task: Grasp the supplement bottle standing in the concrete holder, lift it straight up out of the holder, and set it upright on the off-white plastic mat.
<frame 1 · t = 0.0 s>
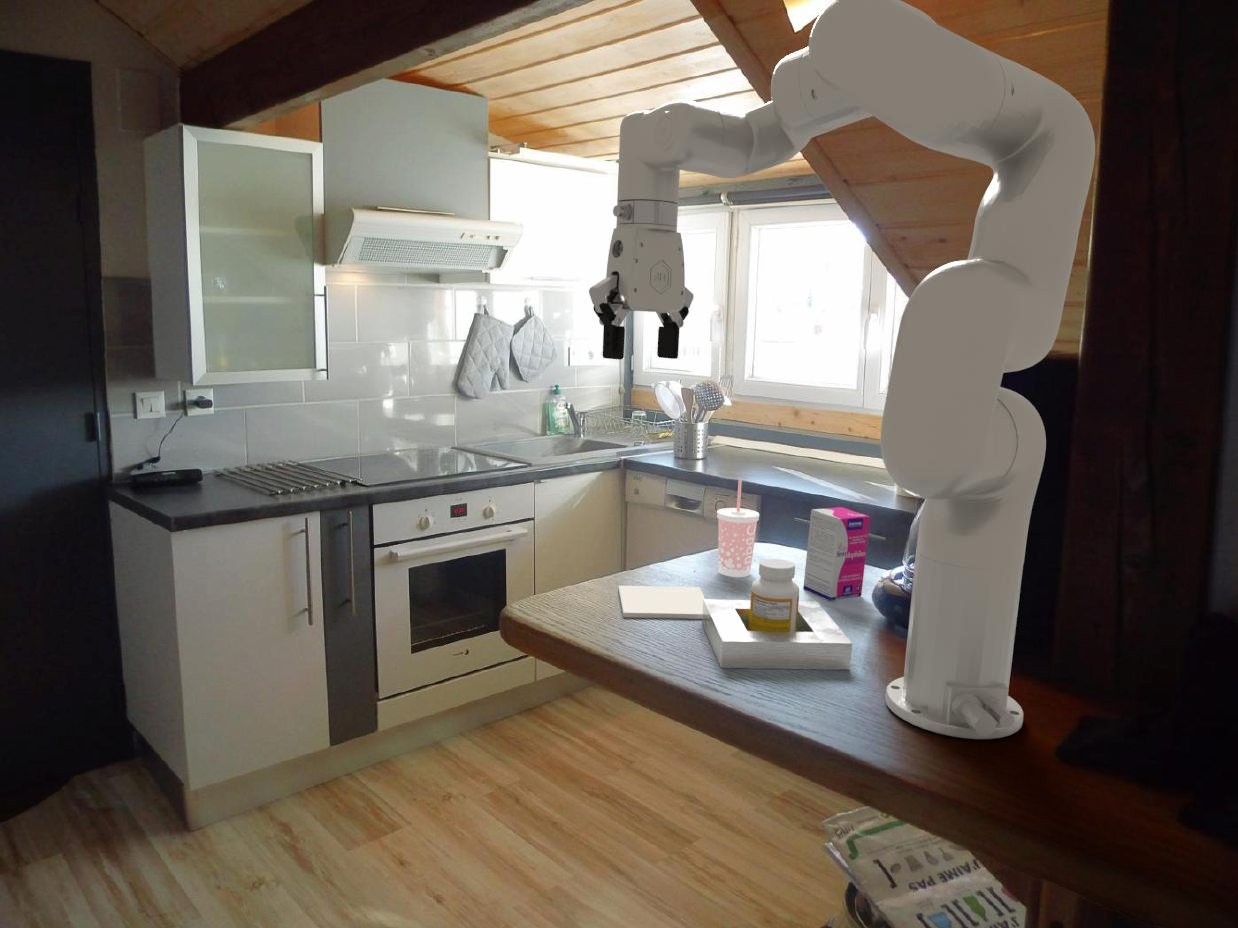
hand: (640, 358, 115), 31 cm above the countertop, tool pointing down, fingers open, 9 cm apart
concrete holder: (771, 644, 105), on the countertop
beverage cup: (734, 573, 133), on the countertop
plastic mat: (663, 603, 118), on the countertop
supplement box: (832, 594, 125), on the countertop
supplement bottle: (771, 646, 105), resting in concrete holder
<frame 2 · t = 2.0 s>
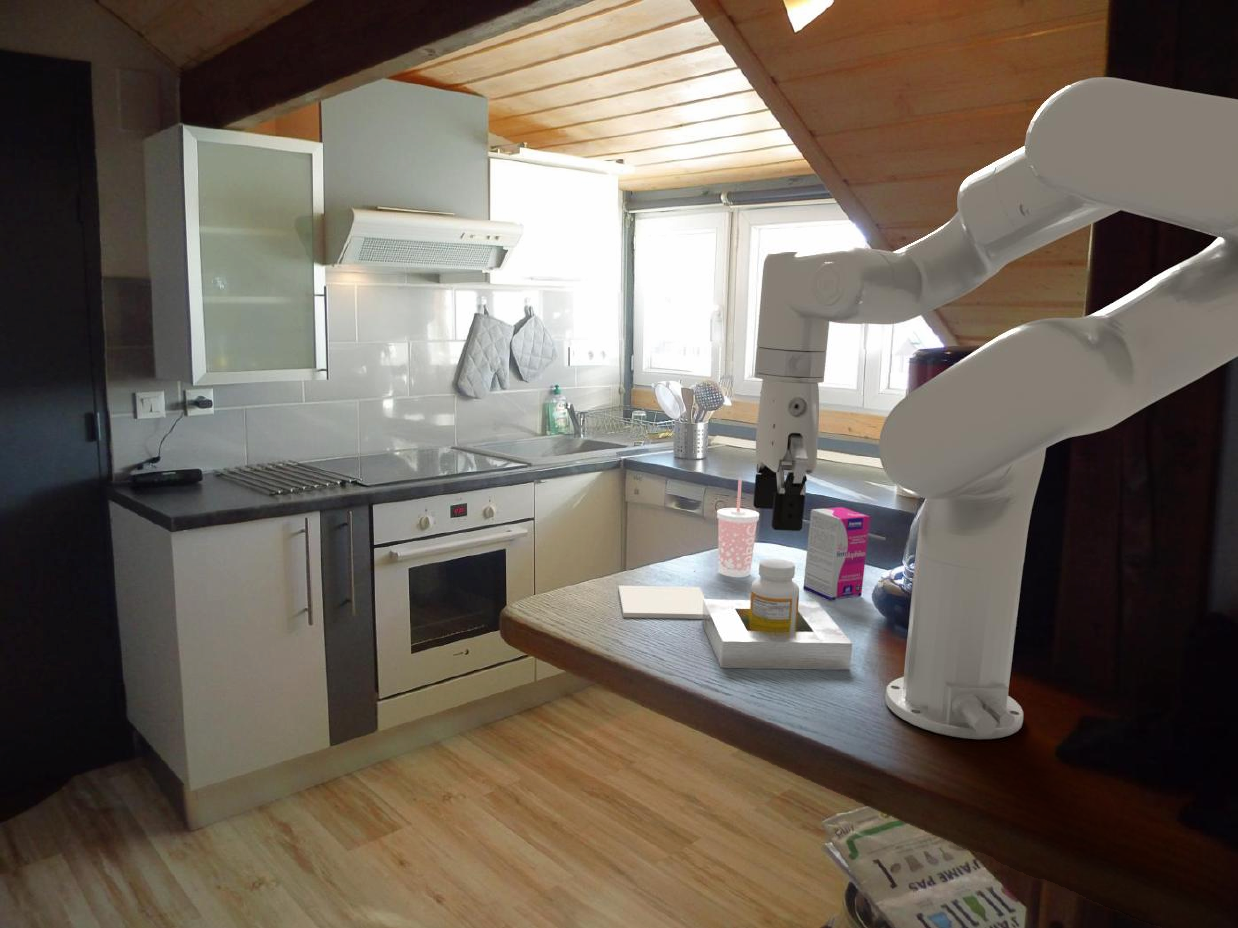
hand: (776, 518, 103), 15 cm above the countertop, tool pointing down, fingers open, 9 cm apart
nothing on the countertop moved.
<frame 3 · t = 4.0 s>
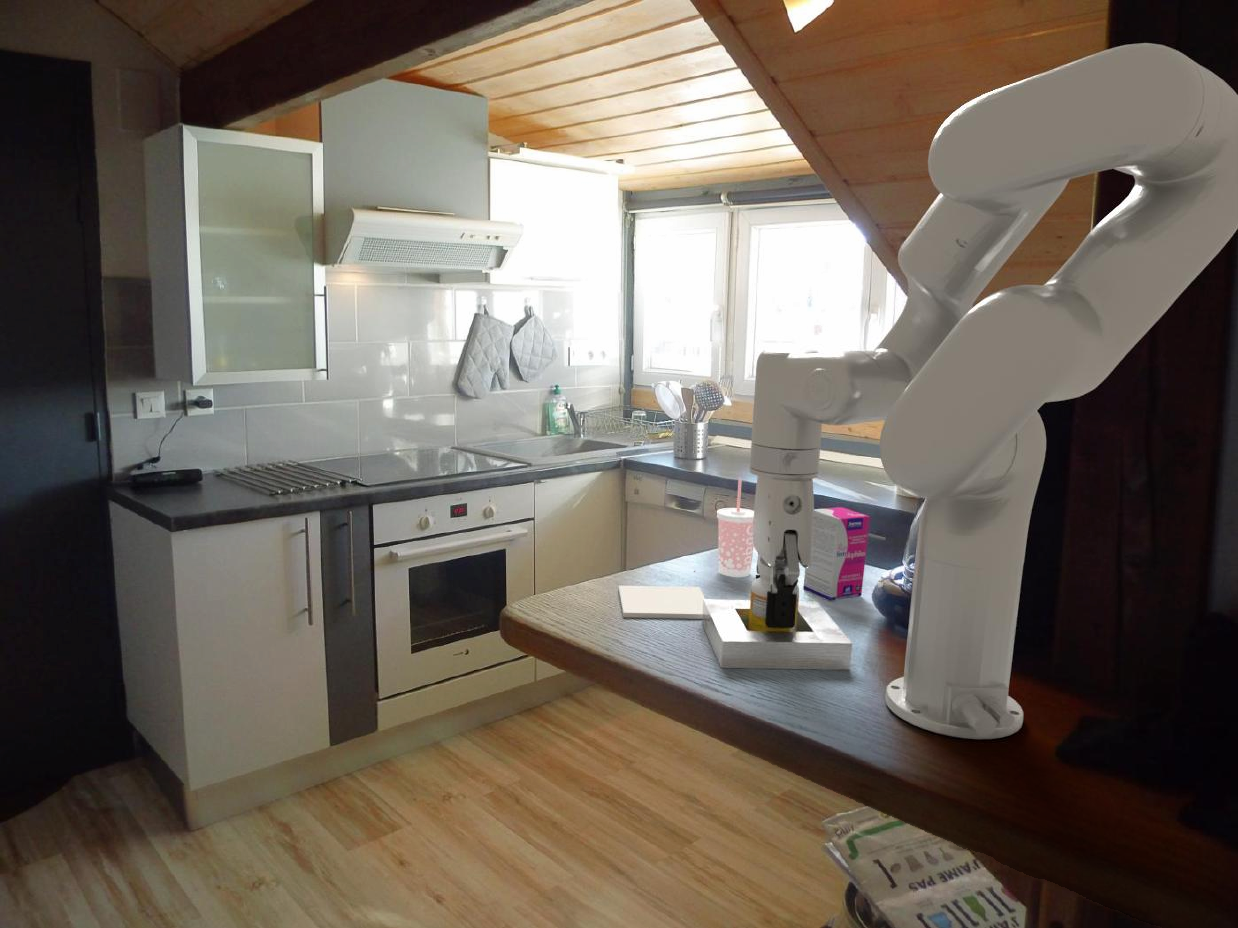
hand: (773, 615, 104), 3 cm above the countertop, tool pointing down, fingers closed on supplement bottle, 5 cm apart
supplement bottle: (771, 646, 105), resting in concrete holder, touching gripper
everything else where it was.
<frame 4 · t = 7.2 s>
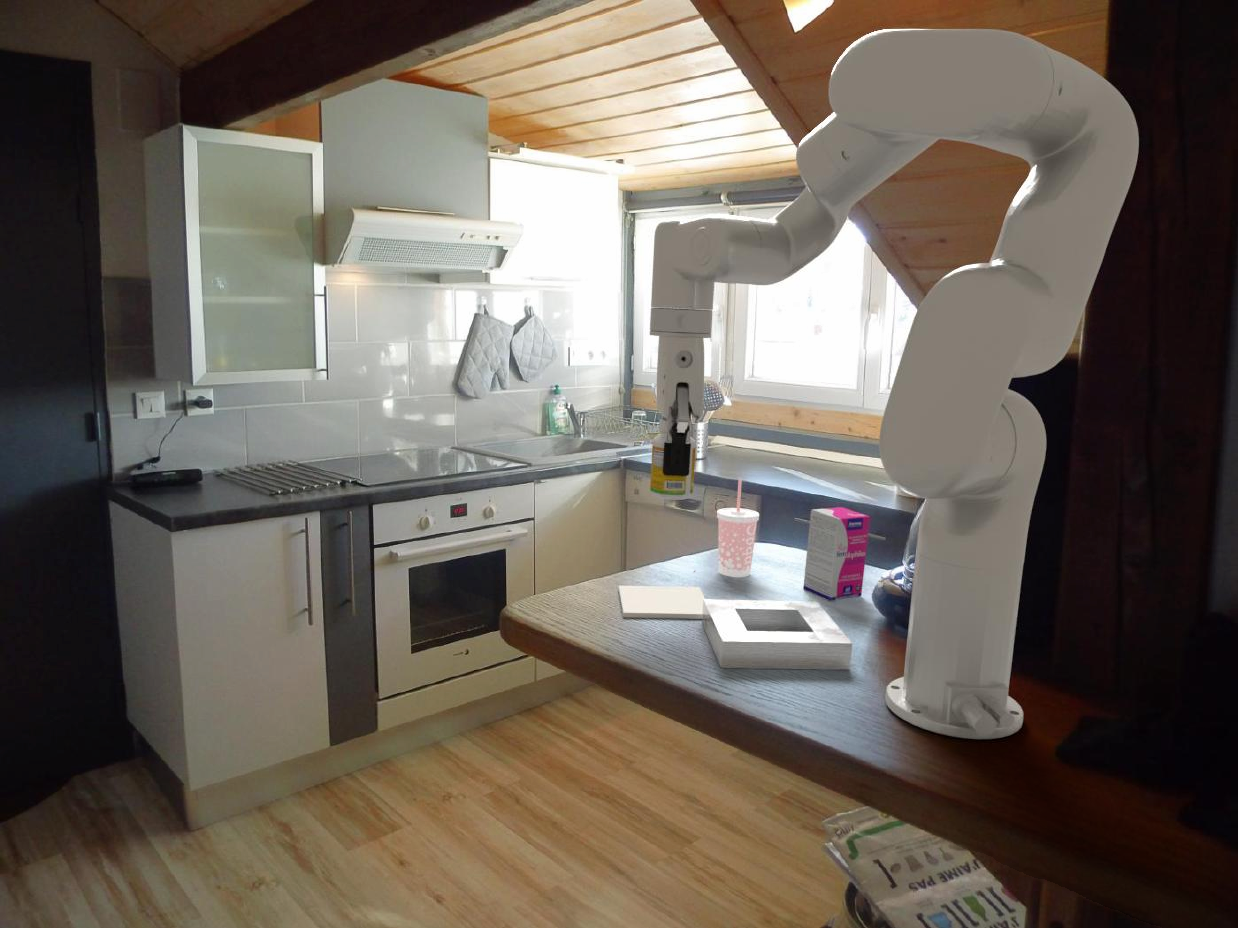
hand: (672, 469, 114), 18 cm above the countertop, tool pointing down, fingers closed on supplement bottle, 5 cm apart
supplement bottle: (671, 497, 115), point 14 cm above the countertop, touching gripper
everything else where it was.
when the fingers open (5 cm above the countertop, at t = 10.4 s): supplement bottle drops 1 cm, resting on plastic mat.
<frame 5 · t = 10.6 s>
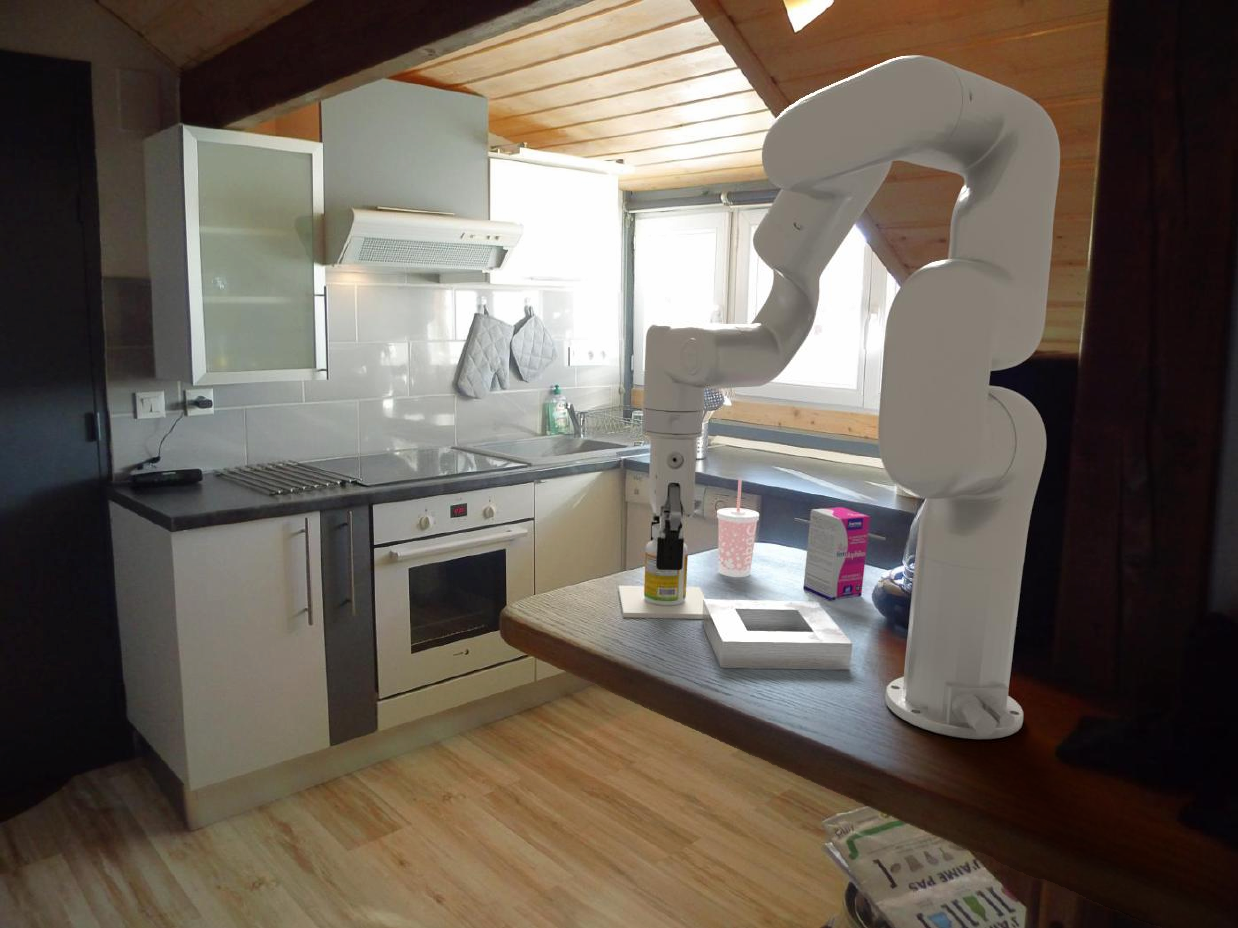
hand: (665, 559, 117), 6 cm above the countertop, tool pointing down, fingers open, 7 cm apart
supplement bottle: (664, 601, 117), resting on plastic mat
everything else where it was.
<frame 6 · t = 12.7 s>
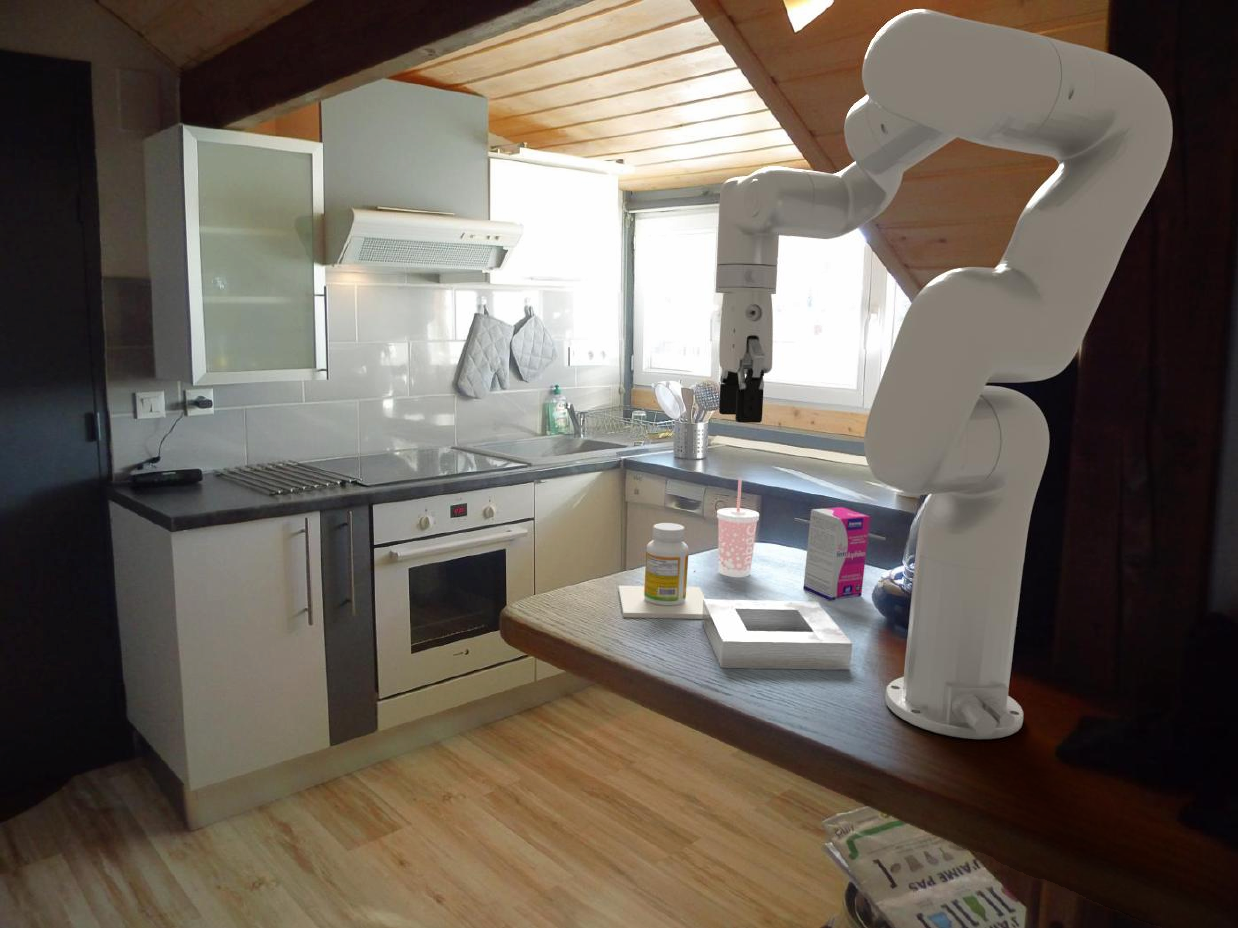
hand: (739, 418, 116), 24 cm above the countertop, tool pointing down, fingers open, 9 cm apart
nothing on the countertop moved.
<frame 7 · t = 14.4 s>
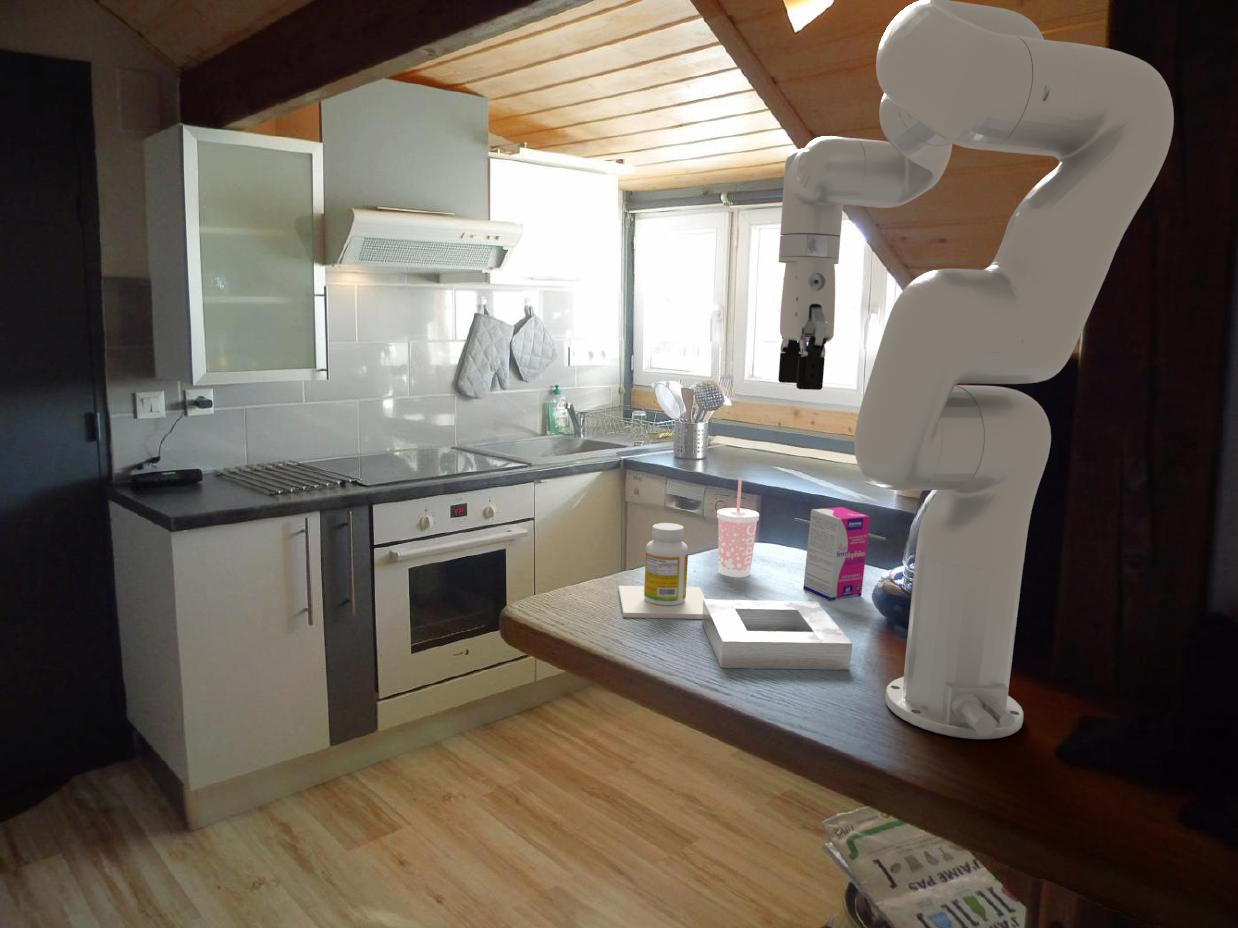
hand: (799, 385, 119), 28 cm above the countertop, tool pointing down, fingers open, 9 cm apart
nothing on the countertop moved.
at the end: supplement bottle inside the target area on the plastic mat (0.2 cm from its centre), point 0.4 cm above the plastic mat's base; supplement bottle tilted 0°; the gripper is holding nothing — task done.
